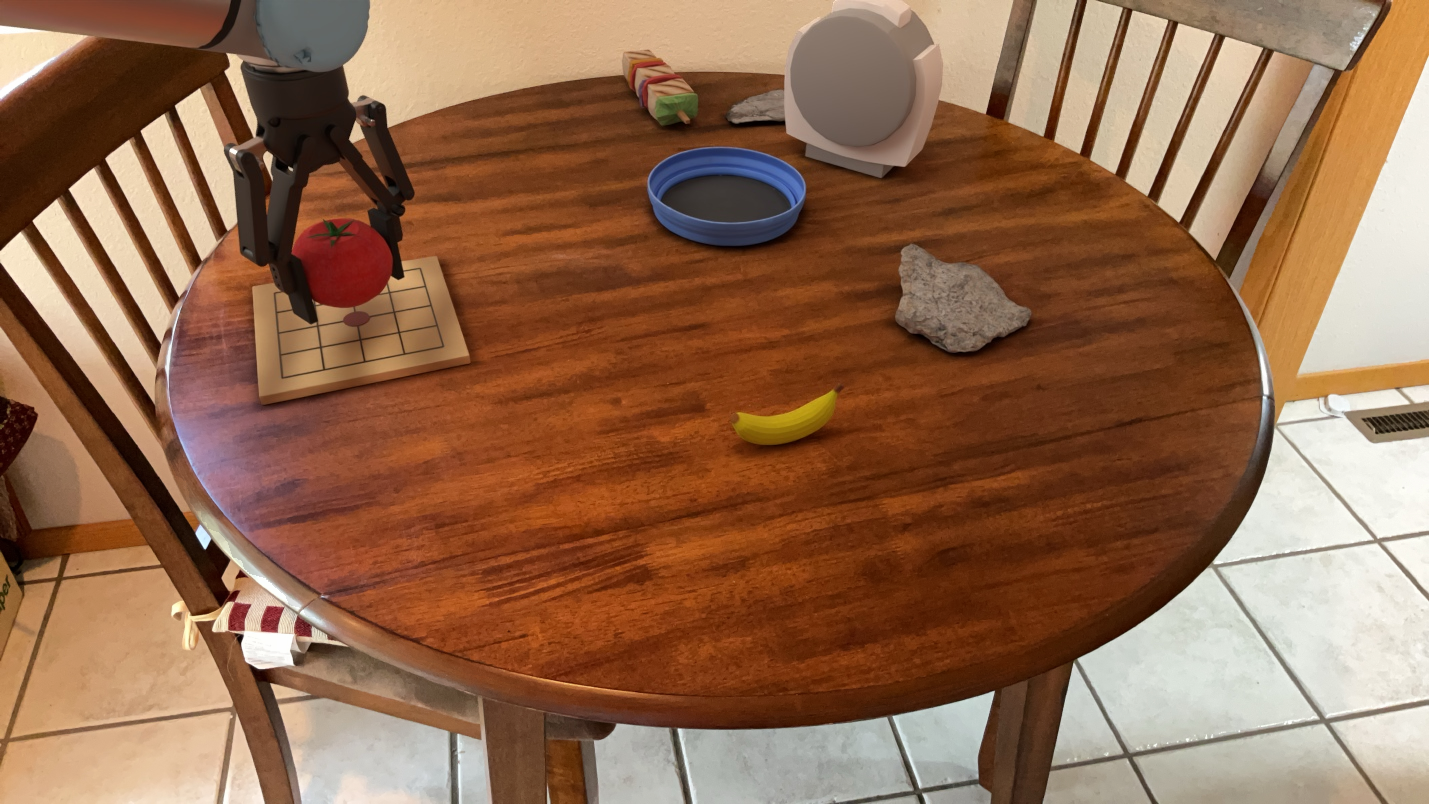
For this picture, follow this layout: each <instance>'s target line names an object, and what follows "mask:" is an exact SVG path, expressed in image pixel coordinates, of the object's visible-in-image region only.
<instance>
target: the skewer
mask: <svg viewBox="0 0 1429 804" xmlns="http://www.w3.org/2000/svg"><path fill="white" fill-rule="evenodd" d="M621 68H622V72H623V77H624V78H625V79H626V82H627V84H628V87H629V89H630V90H632V91H633V92H634V93H635V94H636V96H637V98H638V100H639V106H640V107H641V108H646V109H647V110H648V112H649V114H650V116H652V118H653V119H654V120H656V121H657V122H658V123H659V125H661V126H662V127H663V126H669V125H670V126H671V125H674V124H676V123H681V122H683V123H684V124H686V125H688V124H691V120H692V119H695V118H696V117H697V116H698V113H699V108H698V107H699V95H698V94H697V93H695V90H693V89H692V88H691V86H690V85H689V84H688V83H687V82H686V81H685V80H684V78H683V77H682V75H679V74H676V73H675V71H674V70H673V68H672V66H671V65H670V64H668V63H666V61H664V60H663V58H662V57H657V56H656V54H654V53H653V51H652V50H650V49H641V50H629V51H624V52H622V59H621Z"/></svg>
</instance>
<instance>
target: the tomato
mask: <svg viewBox="0 0 1429 804" xmlns="http://www.w3.org/2000/svg"><path fill="white" fill-rule="evenodd" d="M294 242H295V243H293V247H292V253H291V254H293V255H295V256H296V257H298V258H299V259H301V262H302V265H303V269H304V272H305V276H306V279H307V283H308V286H309V290H310V293H311V297H312V300H314V301H315V302H317V303H319V304H322V305H326V306H330V307H336V308H350V307H356V306H359V305H362V304H364V303H366V302H368V301H370V300H371V299H373V298H374V297H376V296H377V295H379V294H380V293H381V292H382V291H383V289H384V288H385V287H386V285H387V283H388V281H389V279H390V277H391V274H392V264H393V257H392V254H391V251H390V249H389V246H388V245H387V243H386V241H385V240H384V238H383V237H382V236H381V235H380V234H379V233H378V232H377V231H376V230H375V229H374V228H372V227H371V225H370V224H367V223H365V222H364V221H361V220H359V219H355V218H347V217H342V218H341V217H340V218H330V219H324V218H323V219H322V220H321V221H319V222H316V223H314V224H312V225H310V226H308V227H307V228H305V229H304V230H303V231H302V232H301V233H300V234H299V236H298V237H297V239H296V240H295V241H294Z"/></svg>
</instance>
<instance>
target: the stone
mask: <svg viewBox="0 0 1429 804" xmlns="http://www.w3.org/2000/svg"><path fill="white" fill-rule="evenodd" d="M730 108H731V109H729V110H727V111H726V113H725V118H726V120H727V121H728V122H731V123H733V124H736V125H737V124H740V123H749V122H759V121H760V122H761V121H762V122H768V121H775V122H786V121H785V109H784V89H780V88H777V89H774V90H769V91H766V92H764V93H760V94H757V95H751V96H748V97H747V98H745V99H742V100H738V101H736V102H735V103H733V104H731V107H730Z"/></svg>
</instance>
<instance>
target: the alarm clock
mask: <svg viewBox="0 0 1429 804" xmlns="http://www.w3.org/2000/svg"><path fill="white" fill-rule="evenodd" d="M795 32H796V33H795V34H794V36H793V38H792V39H791V40H792V41H791V42H790V44H789V46H788V50H787V51H788V52H787V55H786V60H785V65H784V84H783V88H784V89H783V90H784V109H785V121H784V122H785V131H786V132H785V133H786V134H787V135H789V136H790V137H793V138H794V139H797V140H799V141H801V142H804V143H806V146H805V153H804V154H805V155H804V156H805V157H806V158H809V159H814V160H817V161H819V162H823V163H827V164H831V165H833V166H836V167H837V166H838V167H842V168H845V169H847V170H851V171H855V172H858V173H861V174H865V175H868V176H869V175H870V176H872V177H875V178H880V179H882V178H884V177H885V176H886V174H887V173H888V172H890V171H891V169H892V168H893V167H902V168H903V167H907V166H908V164H909V163H910V162H911V161H913V160H914V158H916V156H918V154H919V153H920V152H921V151H922V150H923V149H924V146H925V144H926V141H927V138H928V136H929V133H930V130H931V129H932V126H933V123H934V118H935V115H936V111H937V108H938V104H939V100H940V95H941V91H942V87H943V76H944V75H943V74H944V61H943V60H944V59H943V56H942V52H941V46H940V43H935V42H934V39H933V38H932V35H931V33H930V31H929V29H928V28H927V25H926V24H925V23H924V21H923V20H922V19H921V18H920V16H919V15H918V14H917V13H916V12H915V11H913V10H912V8H911V6H910V5H909V4H907V3H906V2H905V1H903V0H833V2H832V7H831V12H830V13H828V14H827V15H825V16H823V17H821V16H817V17H816V18H814V19H813V20H811V21H810V22H808V23H806V24H804V25H803V26H802V27H800V28H798V29H797V31H795Z"/></svg>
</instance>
